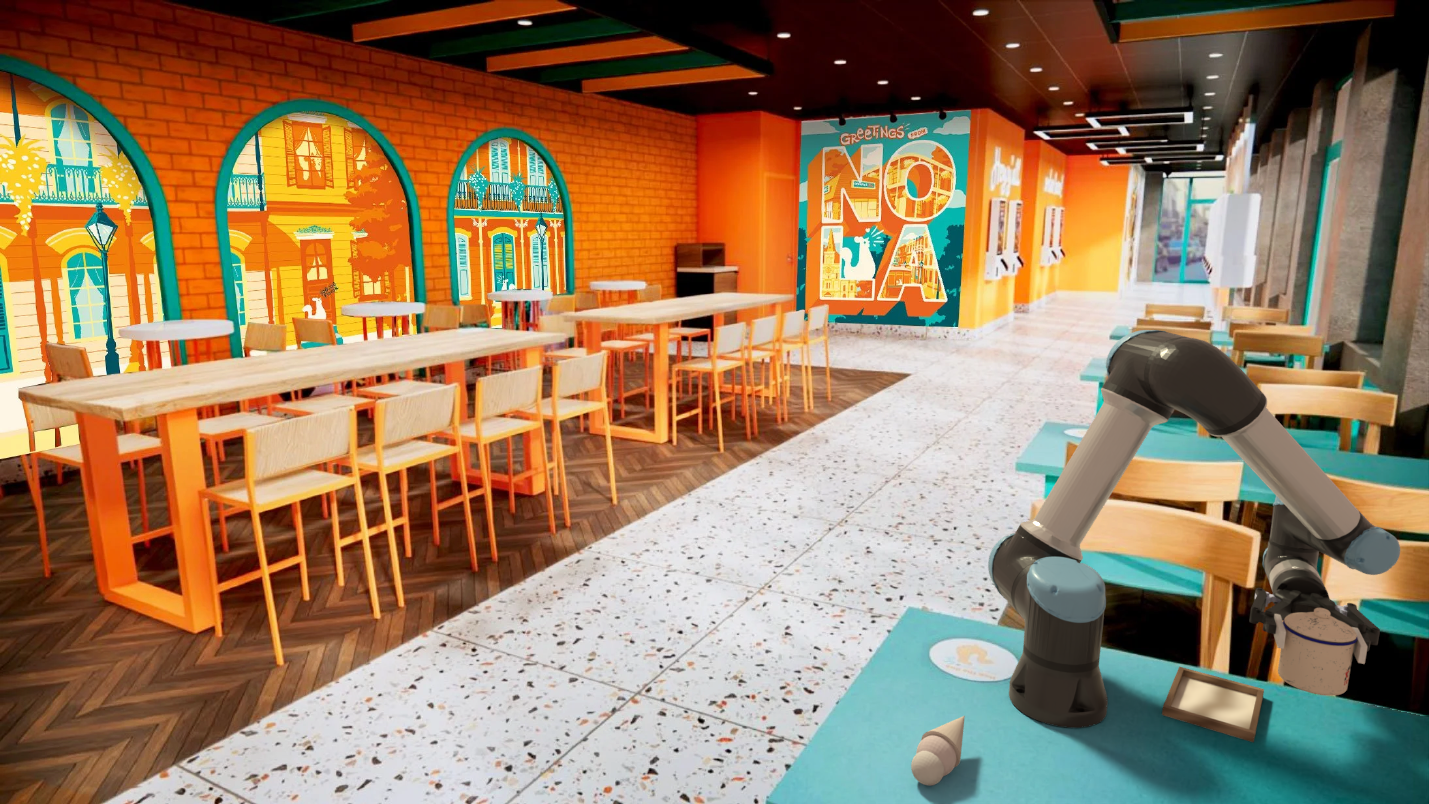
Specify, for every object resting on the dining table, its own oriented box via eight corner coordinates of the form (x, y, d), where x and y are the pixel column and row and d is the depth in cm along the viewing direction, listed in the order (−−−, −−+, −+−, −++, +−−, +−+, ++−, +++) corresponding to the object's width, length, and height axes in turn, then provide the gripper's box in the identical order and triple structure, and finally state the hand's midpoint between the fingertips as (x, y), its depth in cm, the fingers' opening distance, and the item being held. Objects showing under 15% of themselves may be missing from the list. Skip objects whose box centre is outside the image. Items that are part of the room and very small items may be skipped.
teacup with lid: (1361, 700, 122) (1374, 626, 119) (1291, 693, 124) (1302, 620, 121) (1321, 660, 133) (1332, 591, 131) (1257, 654, 135) (1267, 586, 133)
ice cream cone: (968, 739, 130) (924, 803, 119) (938, 708, 131) (892, 768, 121) (992, 723, 126) (949, 788, 115) (961, 691, 127) (916, 752, 117)
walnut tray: (1161, 714, 136) (1162, 706, 135) (1178, 674, 148) (1179, 666, 148) (1253, 742, 128) (1254, 733, 128) (1263, 697, 141) (1264, 689, 140)
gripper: (1374, 623, 138) (1411, 688, 119) (1221, 597, 148) (1231, 653, 129) (1381, 580, 137) (1420, 639, 117) (1226, 557, 147) (1238, 608, 127)
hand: (1321, 647), depth 123 cm, fingers closed on teacup with lid, 9 cm apart
